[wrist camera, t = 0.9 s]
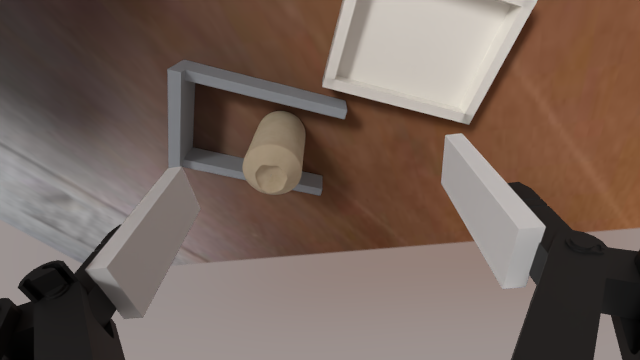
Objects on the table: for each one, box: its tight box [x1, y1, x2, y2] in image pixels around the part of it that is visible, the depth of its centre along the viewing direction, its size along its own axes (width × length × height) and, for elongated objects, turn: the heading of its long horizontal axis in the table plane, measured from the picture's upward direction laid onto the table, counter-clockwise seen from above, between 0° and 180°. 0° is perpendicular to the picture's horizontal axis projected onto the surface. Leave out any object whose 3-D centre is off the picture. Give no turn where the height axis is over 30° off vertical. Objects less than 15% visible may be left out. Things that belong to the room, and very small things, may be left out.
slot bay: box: [168, 60, 347, 196], centre depth 34 cm, size 17×11×4 cm, turn 76°
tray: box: [322, 0, 537, 125], centre depth 30 cm, size 16×12×2 cm
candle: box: [242, 111, 306, 195], centre depth 32 cm, size 6×6×10 cm
